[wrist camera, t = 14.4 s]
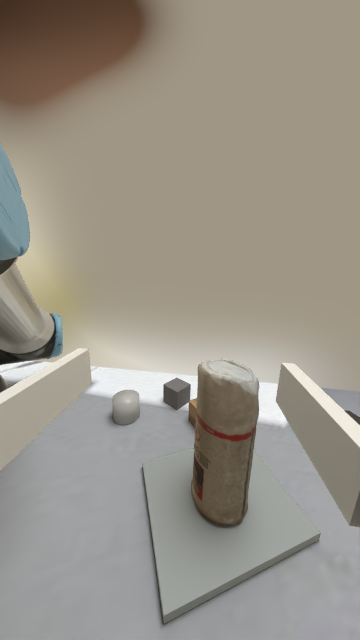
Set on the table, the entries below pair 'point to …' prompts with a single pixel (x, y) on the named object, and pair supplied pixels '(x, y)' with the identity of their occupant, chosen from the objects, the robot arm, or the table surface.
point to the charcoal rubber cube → (176, 393)
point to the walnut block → (192, 411)
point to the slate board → (216, 533)
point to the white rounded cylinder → (126, 407)
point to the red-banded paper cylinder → (224, 439)
